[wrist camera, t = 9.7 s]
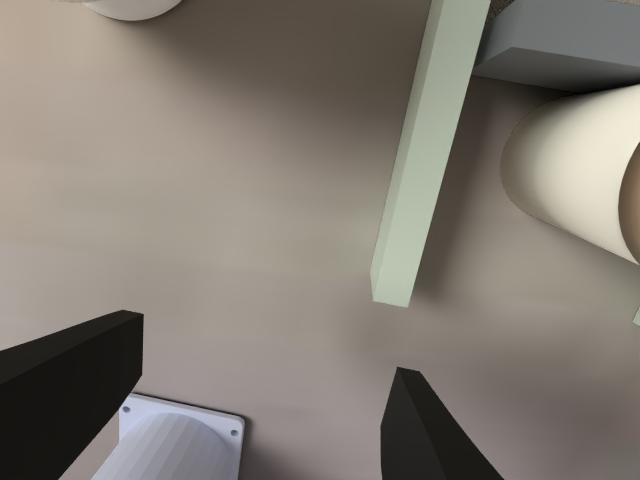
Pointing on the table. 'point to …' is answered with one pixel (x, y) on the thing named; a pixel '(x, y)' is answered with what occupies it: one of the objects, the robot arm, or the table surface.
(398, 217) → the lane
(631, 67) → the plate
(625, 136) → the spice jar
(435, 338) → the table surface
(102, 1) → the jar
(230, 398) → the table surface
